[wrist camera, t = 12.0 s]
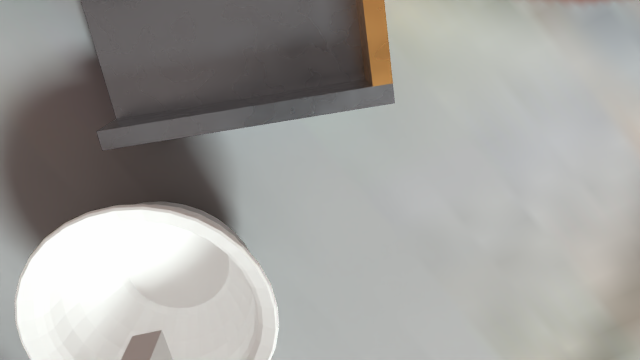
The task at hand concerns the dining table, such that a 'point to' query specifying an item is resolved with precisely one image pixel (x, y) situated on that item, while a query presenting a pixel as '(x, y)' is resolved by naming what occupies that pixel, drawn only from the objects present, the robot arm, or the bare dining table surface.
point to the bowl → (145, 287)
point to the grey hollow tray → (235, 63)
